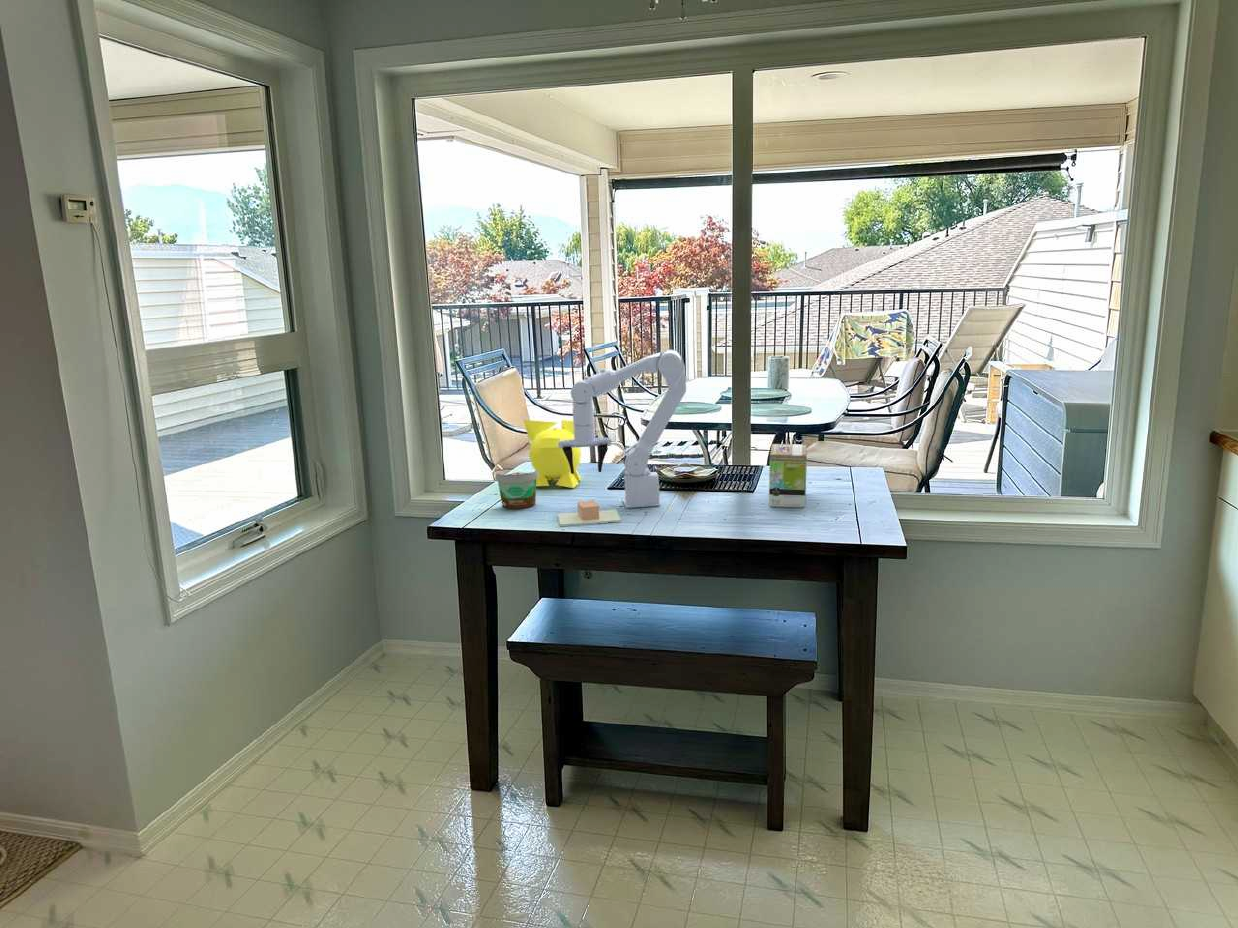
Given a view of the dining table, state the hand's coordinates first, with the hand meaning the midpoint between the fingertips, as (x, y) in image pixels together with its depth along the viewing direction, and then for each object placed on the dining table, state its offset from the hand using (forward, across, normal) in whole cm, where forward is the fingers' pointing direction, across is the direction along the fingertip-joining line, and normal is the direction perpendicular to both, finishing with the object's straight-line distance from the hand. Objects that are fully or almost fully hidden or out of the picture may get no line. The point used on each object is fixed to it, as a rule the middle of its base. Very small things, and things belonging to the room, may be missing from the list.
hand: (586, 472), depth 245 cm
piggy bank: (+10, +7, -28) cm, 30 cm away
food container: (+10, +19, -2) cm, 21 cm away
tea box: (+10, -55, +10) cm, 57 cm away
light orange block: (+9, +1, +14) cm, 16 cm away
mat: (+9, +1, +14) cm, 17 cm away
